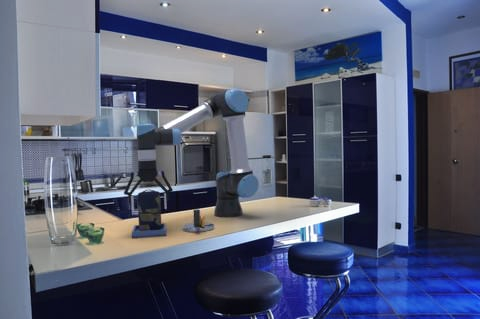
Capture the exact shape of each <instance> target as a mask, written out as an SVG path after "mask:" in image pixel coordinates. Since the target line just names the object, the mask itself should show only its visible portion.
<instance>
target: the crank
mask: <svg viewBox="0 0 480 319" xmlns="http://www.w3.org/2000/svg"><path fill="white" fill-rule="evenodd" d="M200 210H201V209H193V223H194V227H195V229H200V216H201V211H200Z"/></svg>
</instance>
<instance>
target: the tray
mask: <svg viewBox="0 0 480 319" xmlns="http://www.w3.org/2000/svg"><path fill="white" fill-rule="evenodd" d="M161 226H162V227H161V230H151V231H140V230H139V224H135V225H133V228H132V231H131V239H140V238H141V239H142V238H158V237H166V236H167V228H166V226H167V224H166V222H165V223H162V222H161Z"/></svg>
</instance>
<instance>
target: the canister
mask: <svg viewBox="0 0 480 319" xmlns="http://www.w3.org/2000/svg"><path fill="white" fill-rule="evenodd" d="M161 202H162V201H161V193H160V191H157V190H153V189H145V190H143V191H140V192H138V193H137V210H138V212H137V214H138V215H137V216H138V225H139V230H140V231H151V230H161V227H162V226H161V224H162V206H161V205H162V204H161Z"/></svg>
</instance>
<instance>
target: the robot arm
mask: <svg viewBox="0 0 480 319" xmlns="http://www.w3.org/2000/svg"><path fill="white" fill-rule="evenodd" d="M248 107H249V98H248V96H247V94H246V92H244V91H243V90H241V89H240V88H231V89H227V90H224V91H220V92H217V93H215V94H214V95H212V96H211V97H209V98H207V99H206V100H203V101H202V102H200V105H199V106H197V107H195V108H193V109H191V110H189V111H186V112H185V113H184V114H182V115H179V116H177V117H176V118H174V119H173V120H171V121H168V122H166V123H165V124H163V125H161V126H159V127H157V128H156V126H155V124H154V123H139V124H137V125H136V142H137V144H136V145H137V159H138V163H137V167H138V172H135V171H131V173H130V178H129V180H128V183H127V185H126V187H125V189H124V192H123V195H125V196H128V204H131V212H134V211H135V198H134V192H135V191H136V189H138V187H139V186H140V184H141V183H142V182H143V183H147V182H148V183H149V182H150V183H152V182H154V183H155V184H157V185H158V186H159V187H160V188H161V189H162V191H163V192H164V193H163V197H164V198H163V200H164V201H163V202H164V209H165V210H167V202H168V201H169V200H170V196H169V195H170V194H169V193H172V192H174V191H173V187H172V186H171V184H170V182H169V180H168V179H167V176H166V175H165V170H161V171H158V170H157V169H158V168H157V152H156V151H157V150H156V149H157V147H164V146H165V147H169V146H170V147H171V146H179V145H180V144H181V143H182V133H184V132H186V131H188V130H190V129H192V128H194V127H195V126H197V125H199V124H200V123H202V122H204V121H206V120H212V119H213V118H215V117H219V116H221V117H222V118H221V119H223V121H225V123H226V132H227V138H228V147H229V155H230V162H231V170H230V171H222V172H221V171H220V172H218V173H216V179H215V181H216V205H215V207H214V211H213V212H214V213H213V214H214V216H215V217H221V218H222V217H225V218H229V217H230V218H232V217H239V216H242V215H243V207H242V205H241V202H240V199H239V198H243V199H246V198H247V199H248V198H252V197H253V196H255V195H256V193H257V192H258V190H259V187H260V186H259V183H260V182H259V179H258V177H257V176H256V175H254V172H253V168H251V167H250V165H249V164H250V163H249V156H248V149H247V142H246V134H245V125H244V118H245V117H246V111H247V109H248ZM158 175H159V176H160V177H162V179H163V181H164V183H165V185H166V186H167V187H165V186H164V185H163V183H162V182H161V181H160V180H158V178H157V177H158ZM137 176H138V178H139V179H138V181H137V183H135V185H134V186H133V187H132V188H131V189H130V187H131V185H132V183H133V181H134V178H136V177H137ZM167 188H168V189H167ZM129 190H130V191H129Z"/></svg>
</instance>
